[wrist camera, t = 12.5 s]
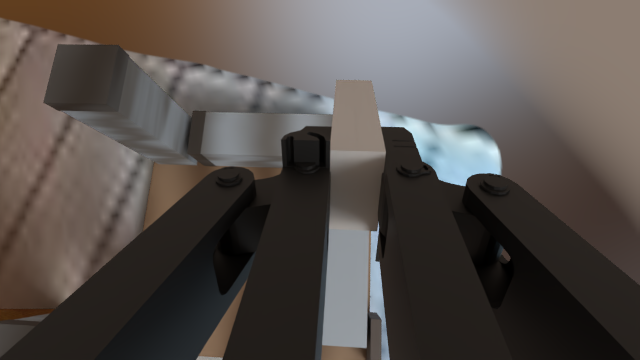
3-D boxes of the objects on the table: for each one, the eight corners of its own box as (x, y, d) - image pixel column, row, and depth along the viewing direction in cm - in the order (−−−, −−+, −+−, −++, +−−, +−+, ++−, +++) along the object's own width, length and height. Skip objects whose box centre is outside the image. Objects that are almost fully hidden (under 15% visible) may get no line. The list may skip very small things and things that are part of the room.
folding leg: (313, 344, 27) (322, 166, 29) (317, 331, 31) (324, 175, 33) (367, 348, 27) (370, 167, 29) (363, 334, 31) (367, 177, 33)
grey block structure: (135, 345, 33) (-44, 417, 18) (169, 129, 38) (53, 38, 23) (373, 361, 32) (405, 456, 16) (376, 135, 37) (402, 41, 21)
